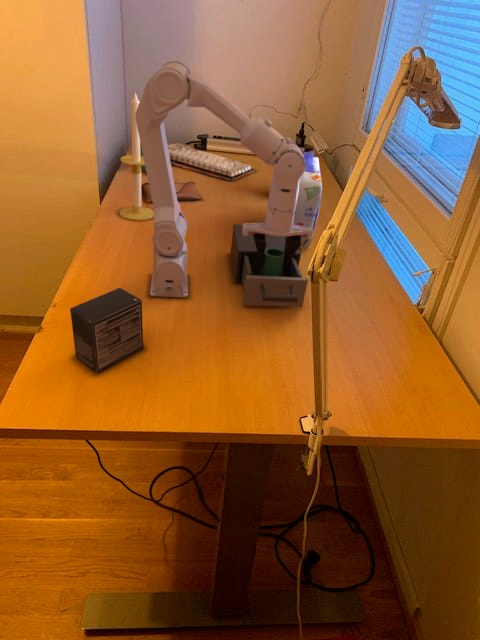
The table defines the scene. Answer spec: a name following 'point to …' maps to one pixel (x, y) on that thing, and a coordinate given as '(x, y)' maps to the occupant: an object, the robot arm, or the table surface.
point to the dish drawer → (271, 284)
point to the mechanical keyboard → (207, 162)
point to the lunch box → (308, 196)
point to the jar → (273, 262)
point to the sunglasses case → (182, 192)
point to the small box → (107, 329)
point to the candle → (135, 173)
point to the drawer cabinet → (251, 248)
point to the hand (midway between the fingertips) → (272, 266)
